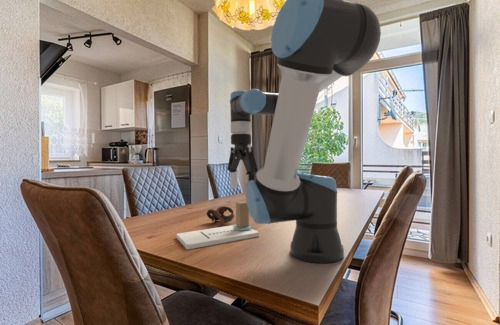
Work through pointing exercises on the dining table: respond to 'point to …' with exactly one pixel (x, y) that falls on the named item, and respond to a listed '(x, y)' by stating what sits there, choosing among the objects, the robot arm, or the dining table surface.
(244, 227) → the stub
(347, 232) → the dining table surface
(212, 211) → the dark brown looped ring
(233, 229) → the board
